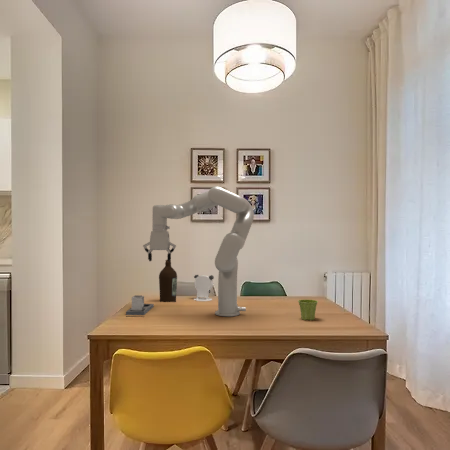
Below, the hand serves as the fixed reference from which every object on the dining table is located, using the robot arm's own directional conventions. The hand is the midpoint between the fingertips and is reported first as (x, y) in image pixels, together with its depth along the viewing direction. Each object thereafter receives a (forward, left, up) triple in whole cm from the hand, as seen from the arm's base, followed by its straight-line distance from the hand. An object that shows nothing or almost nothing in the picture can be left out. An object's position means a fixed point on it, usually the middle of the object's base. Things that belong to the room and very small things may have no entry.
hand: (159, 261), depth 214 cm
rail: (+9, +4, -26) cm, 28 cm away
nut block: (+9, +10, -25) cm, 28 cm away
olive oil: (0, -26, -26) cm, 37 cm away
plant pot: (-75, +15, -26) cm, 81 cm away
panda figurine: (-20, -37, -26) cm, 49 cm away
